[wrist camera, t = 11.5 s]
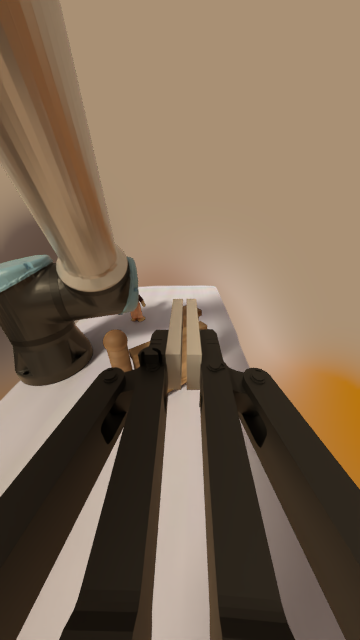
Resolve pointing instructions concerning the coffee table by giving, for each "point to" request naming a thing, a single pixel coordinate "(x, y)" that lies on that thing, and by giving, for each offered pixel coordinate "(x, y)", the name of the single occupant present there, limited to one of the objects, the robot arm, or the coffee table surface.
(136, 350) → the gate
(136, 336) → the coffee table surface
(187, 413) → the coffee table surface
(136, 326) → the coffee table surface
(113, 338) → the hinge post
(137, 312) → the grandmother figurine
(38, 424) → the coffee table surface
